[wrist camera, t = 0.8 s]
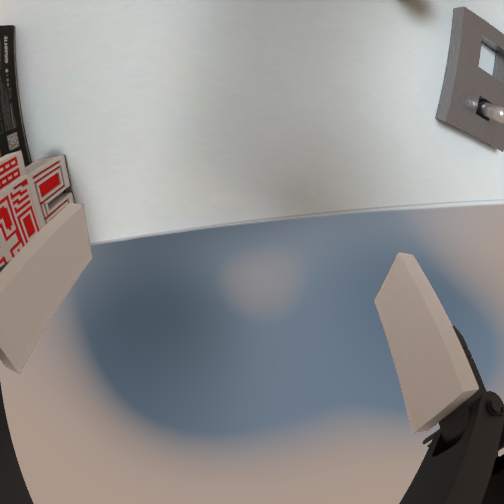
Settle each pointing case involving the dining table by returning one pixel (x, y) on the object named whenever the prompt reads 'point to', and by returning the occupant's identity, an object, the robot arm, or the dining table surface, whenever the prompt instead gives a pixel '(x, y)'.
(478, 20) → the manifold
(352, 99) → the dining table surface
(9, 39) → the box
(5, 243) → the toy
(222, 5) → the dining table surface
